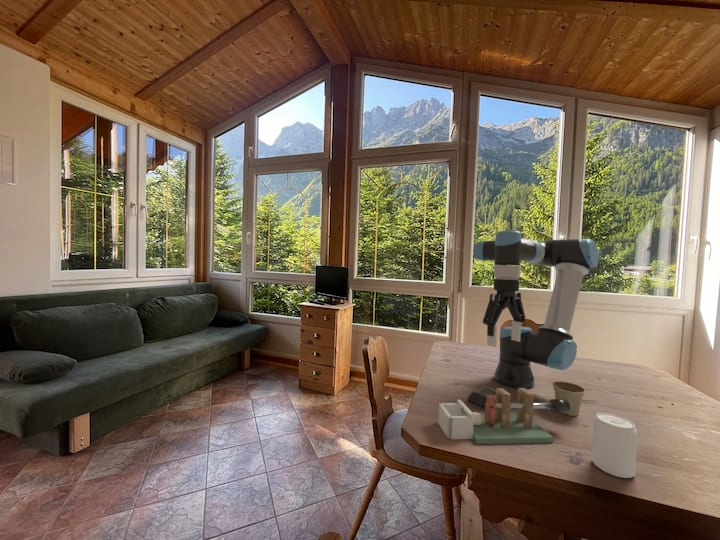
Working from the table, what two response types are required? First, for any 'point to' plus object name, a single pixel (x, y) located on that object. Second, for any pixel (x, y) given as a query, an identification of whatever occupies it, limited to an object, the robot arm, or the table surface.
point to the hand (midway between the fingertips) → (504, 343)
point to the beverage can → (614, 445)
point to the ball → (477, 419)
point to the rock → (481, 395)
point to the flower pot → (569, 395)
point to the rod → (553, 404)
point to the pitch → (509, 432)
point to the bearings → (522, 414)
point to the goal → (455, 420)
